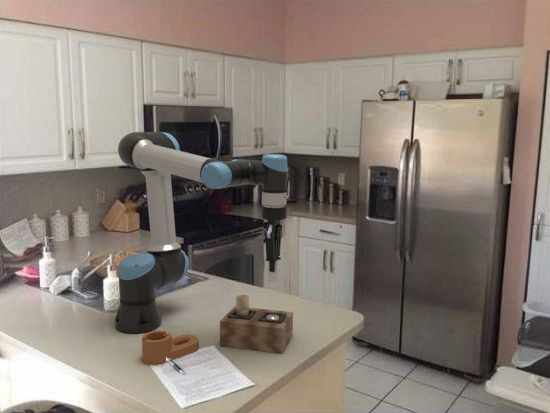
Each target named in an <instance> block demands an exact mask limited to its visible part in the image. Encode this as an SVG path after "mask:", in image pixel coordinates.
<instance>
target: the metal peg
mask: <svg viewBox="0 0 550 413" xmlns="http://www.w3.org/2000/svg"><path fill="white" fill-rule="evenodd" d="M266 319H271V320H279V316H278V315H275V314H270V315H267V316H266Z"/></svg>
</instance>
